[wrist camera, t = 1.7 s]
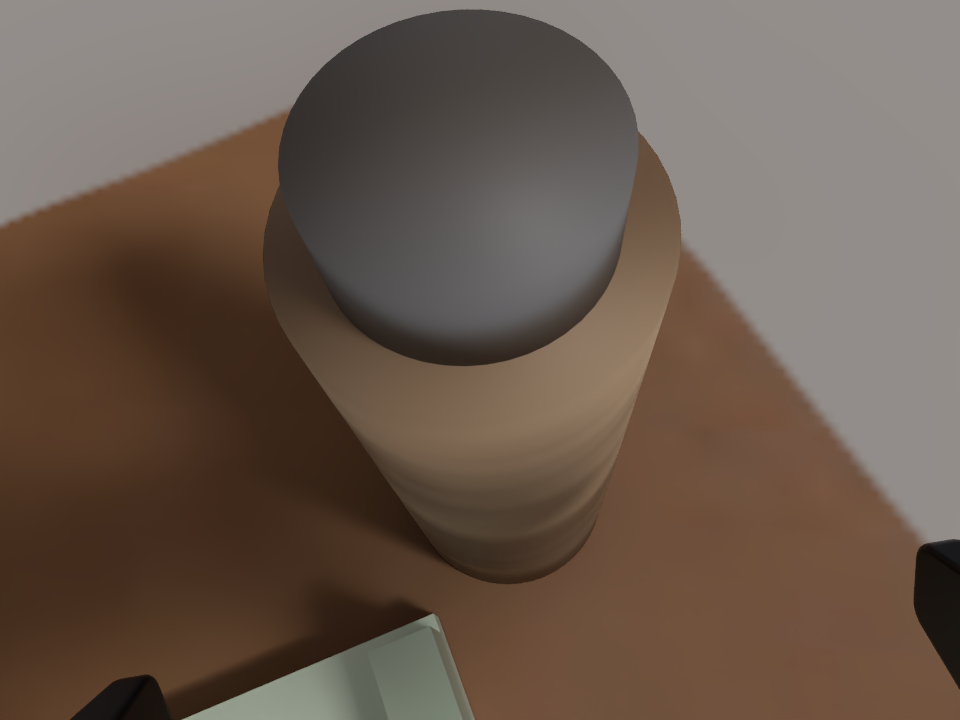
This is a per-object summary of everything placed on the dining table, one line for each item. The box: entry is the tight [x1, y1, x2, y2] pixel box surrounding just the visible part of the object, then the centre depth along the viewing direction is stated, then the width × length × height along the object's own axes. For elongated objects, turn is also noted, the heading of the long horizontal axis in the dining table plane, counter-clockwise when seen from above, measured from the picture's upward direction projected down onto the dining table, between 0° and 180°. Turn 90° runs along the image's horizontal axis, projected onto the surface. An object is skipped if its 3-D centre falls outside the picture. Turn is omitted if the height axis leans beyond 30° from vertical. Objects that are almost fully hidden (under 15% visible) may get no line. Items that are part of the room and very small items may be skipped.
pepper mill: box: [263, 10, 681, 584], centre depth 15 cm, size 5×5×15 cm
